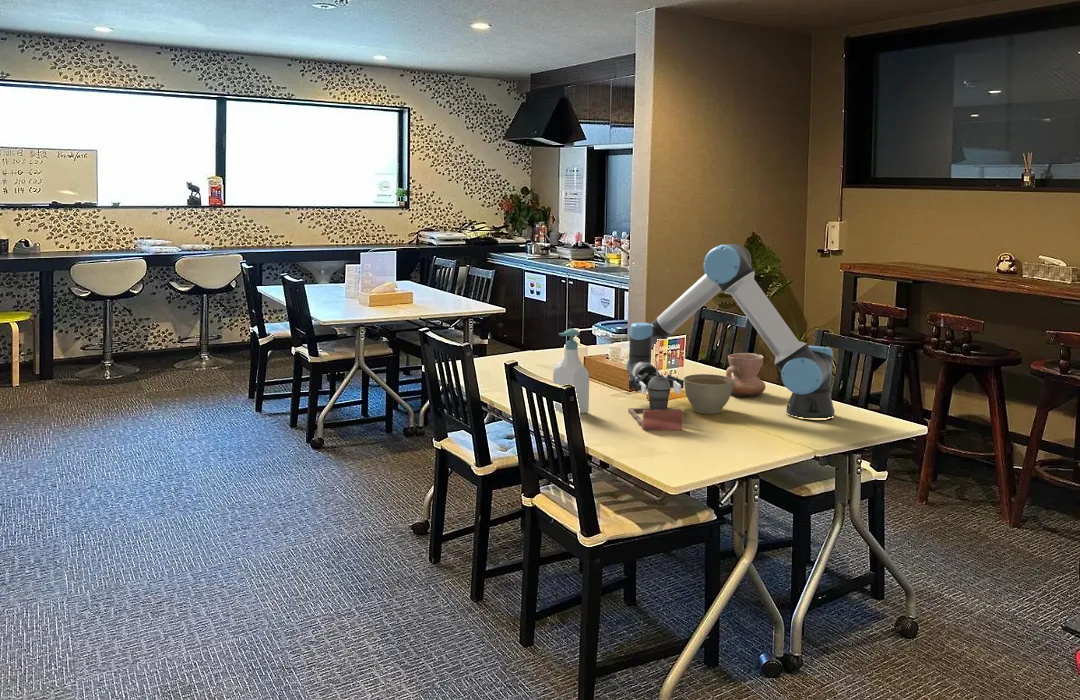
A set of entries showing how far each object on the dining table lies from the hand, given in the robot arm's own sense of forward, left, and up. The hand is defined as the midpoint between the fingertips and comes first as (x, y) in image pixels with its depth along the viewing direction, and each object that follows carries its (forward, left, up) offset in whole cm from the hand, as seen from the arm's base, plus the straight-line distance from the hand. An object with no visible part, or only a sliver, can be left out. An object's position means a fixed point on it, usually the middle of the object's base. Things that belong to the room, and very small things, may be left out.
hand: (662, 389), depth 278 cm
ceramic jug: (+17, -57, -12) cm, 61 cm away
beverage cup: (+4, -2, -12) cm, 13 cm away
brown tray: (+8, -5, -12) cm, 15 cm away
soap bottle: (+32, +11, -12) cm, 36 cm away
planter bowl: (+7, -28, -12) cm, 32 cm away
